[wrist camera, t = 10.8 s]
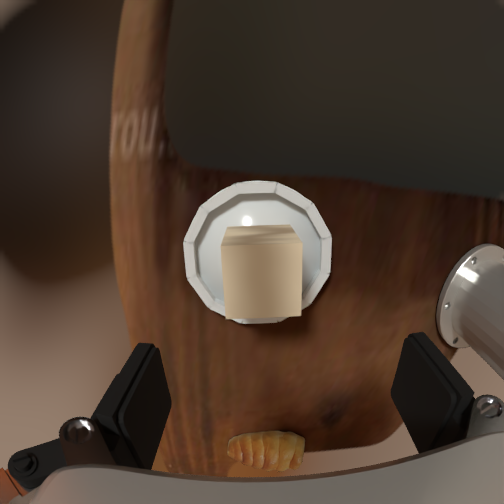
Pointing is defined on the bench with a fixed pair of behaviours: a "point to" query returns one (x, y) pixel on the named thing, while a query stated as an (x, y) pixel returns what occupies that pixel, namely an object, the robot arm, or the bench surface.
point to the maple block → (261, 271)
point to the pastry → (268, 450)
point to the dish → (251, 214)
